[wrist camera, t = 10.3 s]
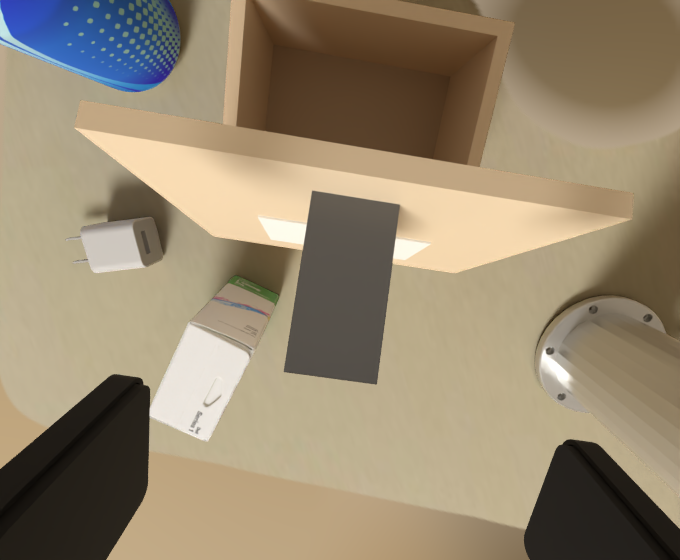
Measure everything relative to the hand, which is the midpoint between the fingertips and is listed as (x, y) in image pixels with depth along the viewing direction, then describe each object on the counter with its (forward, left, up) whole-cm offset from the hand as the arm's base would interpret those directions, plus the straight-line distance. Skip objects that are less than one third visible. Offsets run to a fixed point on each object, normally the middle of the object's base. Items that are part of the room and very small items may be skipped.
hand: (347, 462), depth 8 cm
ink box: (+8, +9, -28) cm, 30 cm away
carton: (0, -9, -27) cm, 29 cm away
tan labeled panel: (0, -4, -11) cm, 12 cm away
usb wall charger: (+20, +3, -28) cm, 34 cm away
